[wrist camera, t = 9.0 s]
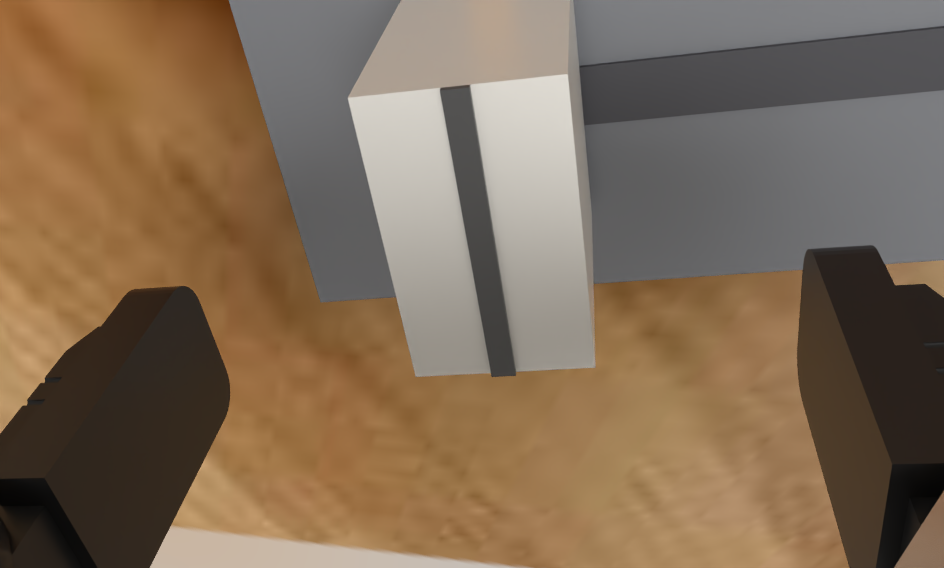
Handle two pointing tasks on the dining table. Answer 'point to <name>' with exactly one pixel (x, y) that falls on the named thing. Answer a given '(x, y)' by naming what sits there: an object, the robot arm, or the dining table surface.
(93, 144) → the dining table surface
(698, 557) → the dining table surface
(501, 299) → the block
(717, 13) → the slider board
